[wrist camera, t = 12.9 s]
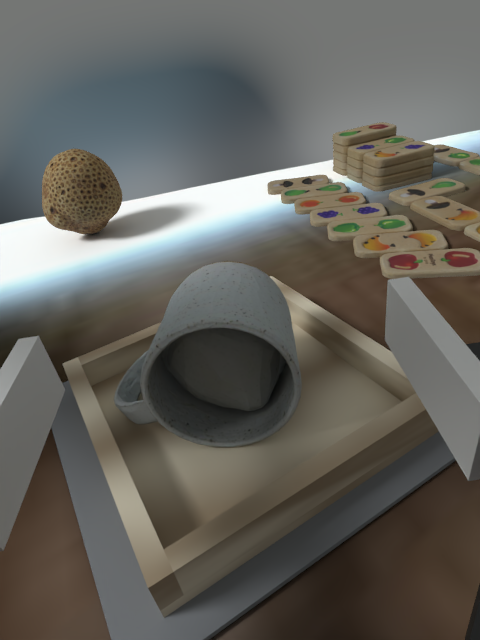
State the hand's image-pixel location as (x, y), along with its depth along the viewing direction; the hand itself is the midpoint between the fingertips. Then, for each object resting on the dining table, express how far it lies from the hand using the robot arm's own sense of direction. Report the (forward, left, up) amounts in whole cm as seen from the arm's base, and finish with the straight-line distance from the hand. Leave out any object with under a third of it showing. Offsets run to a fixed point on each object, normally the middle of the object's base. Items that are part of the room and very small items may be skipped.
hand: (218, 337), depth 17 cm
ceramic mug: (-5, +1, -8) cm, 10 cm away
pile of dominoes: (-20, +35, -10) cm, 41 cm away
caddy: (-5, +2, -9) cm, 10 cm away
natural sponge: (-42, +3, -9) cm, 43 cm away
